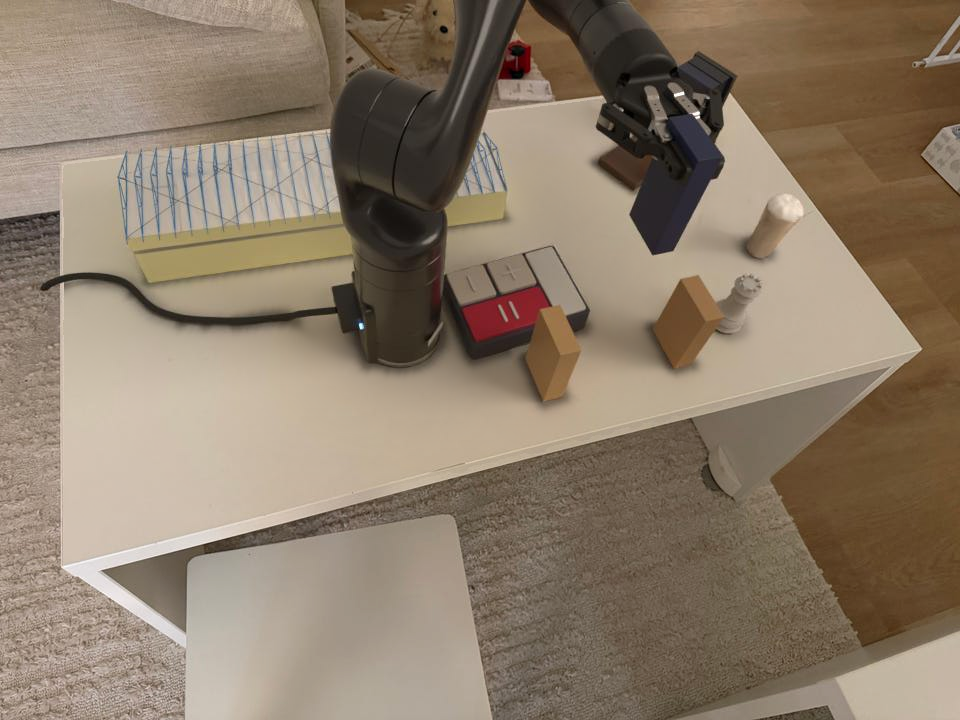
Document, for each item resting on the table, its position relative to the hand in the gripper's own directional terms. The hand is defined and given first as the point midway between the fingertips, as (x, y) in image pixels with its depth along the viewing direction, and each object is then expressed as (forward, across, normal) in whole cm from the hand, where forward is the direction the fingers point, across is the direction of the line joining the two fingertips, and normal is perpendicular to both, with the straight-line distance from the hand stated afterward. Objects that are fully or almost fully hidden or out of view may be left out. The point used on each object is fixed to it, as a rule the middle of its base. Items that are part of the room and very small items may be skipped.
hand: (702, 174), depth 61 cm
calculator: (-6, -13, +25) cm, 29 cm away
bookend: (-28, +18, +25) cm, 42 cm away
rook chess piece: (+2, +13, +25) cm, 28 cm away
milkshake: (-7, +24, +25) cm, 35 cm away
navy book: (-3, 0, +11) cm, 11 cm away
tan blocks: (+4, -4, +25) cm, 26 cm away
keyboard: (-26, -32, +25) cm, 48 cm away
